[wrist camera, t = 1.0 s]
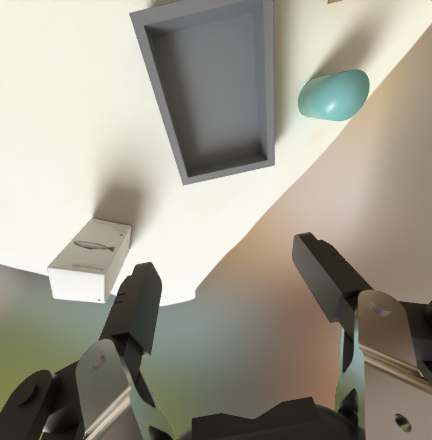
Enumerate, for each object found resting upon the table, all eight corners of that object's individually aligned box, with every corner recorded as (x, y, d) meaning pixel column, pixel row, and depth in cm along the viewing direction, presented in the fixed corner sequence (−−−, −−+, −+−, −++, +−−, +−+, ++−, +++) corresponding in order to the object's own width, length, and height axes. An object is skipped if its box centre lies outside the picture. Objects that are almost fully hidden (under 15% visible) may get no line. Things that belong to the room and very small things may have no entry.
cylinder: (299, 81, 26) (329, 75, 20) (334, 73, 26) (375, 64, 20) (297, 120, 28) (323, 125, 23) (328, 113, 28) (363, 116, 23)
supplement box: (132, 224, 36) (106, 275, 25) (129, 251, 40) (105, 305, 29) (91, 216, 34) (44, 267, 24) (91, 245, 38) (51, 300, 27)
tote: (142, 30, 21) (129, 13, 17) (257, 2, 21) (273, -23, 17) (184, 174, 31) (183, 185, 27) (264, 156, 31) (274, 165, 27)
